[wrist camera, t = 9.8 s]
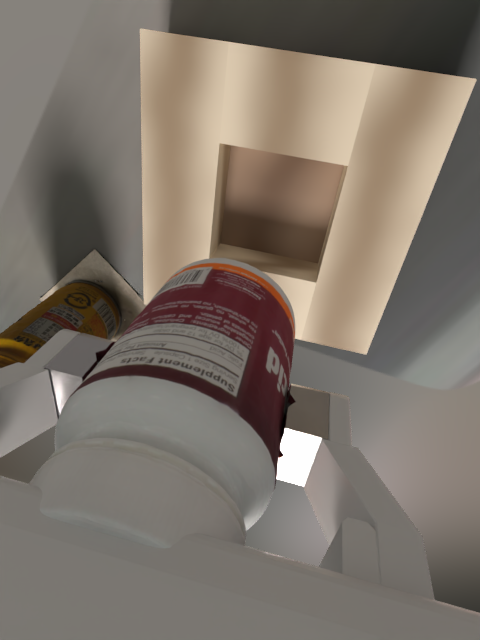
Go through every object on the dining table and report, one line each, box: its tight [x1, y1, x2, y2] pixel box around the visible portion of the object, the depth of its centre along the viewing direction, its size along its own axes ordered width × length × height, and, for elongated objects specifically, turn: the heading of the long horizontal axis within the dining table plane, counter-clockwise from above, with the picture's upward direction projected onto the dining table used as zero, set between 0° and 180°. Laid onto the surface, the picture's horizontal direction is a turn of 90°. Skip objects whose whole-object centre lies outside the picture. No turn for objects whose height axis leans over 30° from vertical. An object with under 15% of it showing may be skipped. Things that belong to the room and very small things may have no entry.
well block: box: [140, 29, 477, 354], centre depth 24 cm, size 16×16×4 cm
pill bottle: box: [29, 258, 295, 548], centre depth 10 cm, size 5×5×8 cm
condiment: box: [0, 249, 147, 368], centre depth 29 cm, size 7×8×12 cm
